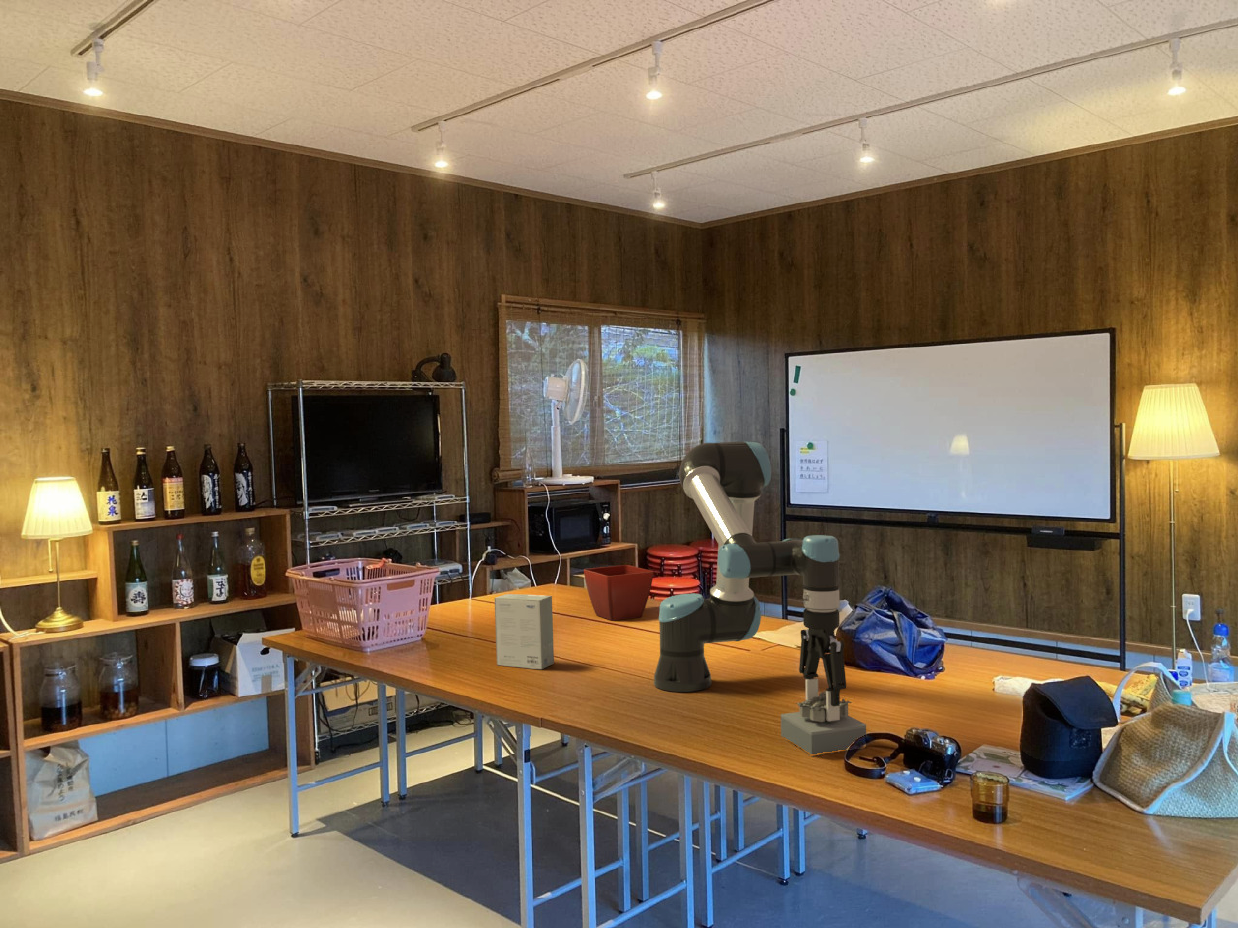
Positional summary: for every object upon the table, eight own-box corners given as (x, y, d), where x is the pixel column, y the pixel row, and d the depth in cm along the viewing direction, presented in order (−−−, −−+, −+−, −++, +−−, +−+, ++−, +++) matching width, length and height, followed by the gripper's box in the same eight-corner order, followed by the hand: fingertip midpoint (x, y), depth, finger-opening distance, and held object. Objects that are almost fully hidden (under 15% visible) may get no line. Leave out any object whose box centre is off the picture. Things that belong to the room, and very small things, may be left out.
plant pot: (655, 617, 334) (654, 570, 333) (609, 624, 324) (608, 575, 324) (628, 609, 351) (627, 564, 350) (583, 615, 341) (582, 569, 340)
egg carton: (831, 707, 206) (831, 688, 206) (855, 716, 200) (855, 696, 199) (793, 714, 201) (793, 695, 201) (816, 723, 195) (816, 704, 194)
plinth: (781, 736, 204) (780, 714, 204) (833, 729, 209) (832, 707, 208) (811, 756, 192) (811, 732, 192) (866, 748, 196) (866, 724, 196)
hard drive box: (555, 663, 272) (553, 595, 271) (542, 670, 265) (540, 600, 264) (509, 659, 278) (507, 592, 277) (495, 665, 271) (493, 597, 270)
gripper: (782, 601, 208) (783, 702, 209) (831, 619, 188) (832, 731, 189) (811, 598, 210) (812, 699, 211) (863, 616, 191) (864, 726, 192)
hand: (822, 714), depth 200 cm, fingers closed on egg carton, 8 cm apart
